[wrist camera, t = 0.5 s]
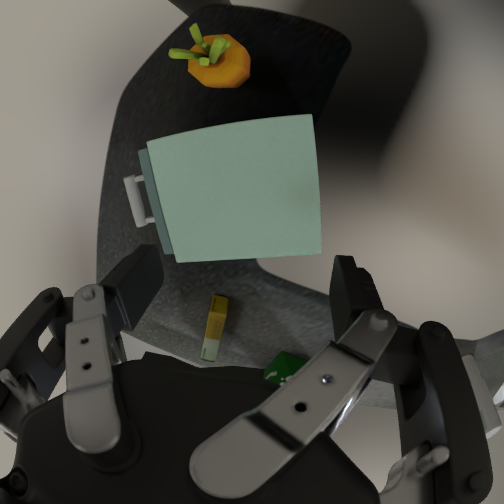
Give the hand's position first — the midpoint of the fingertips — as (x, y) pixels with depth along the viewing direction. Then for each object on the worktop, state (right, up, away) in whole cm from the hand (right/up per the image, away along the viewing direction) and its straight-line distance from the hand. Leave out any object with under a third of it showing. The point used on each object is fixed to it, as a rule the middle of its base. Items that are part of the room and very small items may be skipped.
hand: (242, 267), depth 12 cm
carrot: (-1, +21, +15) cm, 25 cm away
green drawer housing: (0, +10, +20) cm, 22 cm away
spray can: (+47, -24, +31) cm, 62 cm away
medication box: (-5, -11, +32) cm, 34 cm away
